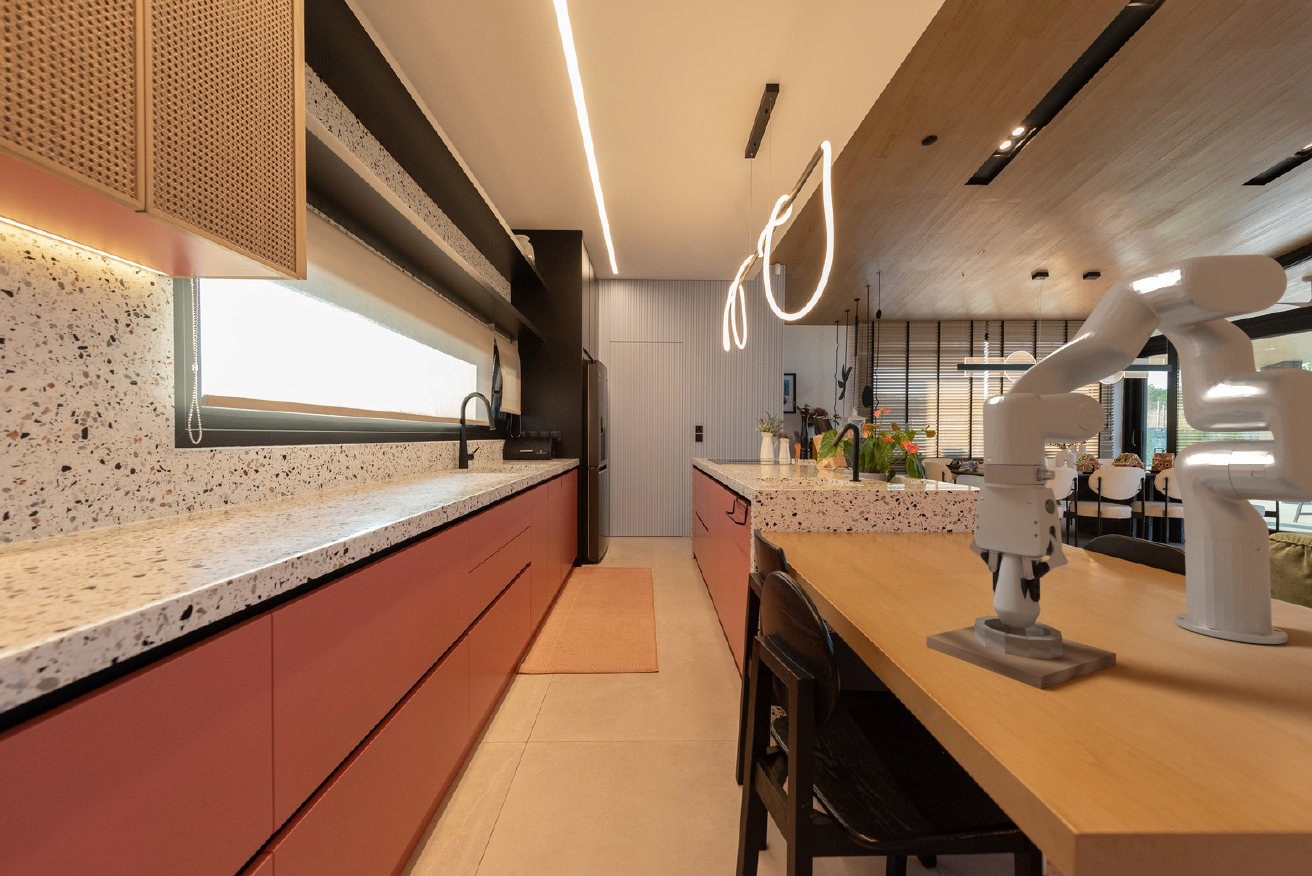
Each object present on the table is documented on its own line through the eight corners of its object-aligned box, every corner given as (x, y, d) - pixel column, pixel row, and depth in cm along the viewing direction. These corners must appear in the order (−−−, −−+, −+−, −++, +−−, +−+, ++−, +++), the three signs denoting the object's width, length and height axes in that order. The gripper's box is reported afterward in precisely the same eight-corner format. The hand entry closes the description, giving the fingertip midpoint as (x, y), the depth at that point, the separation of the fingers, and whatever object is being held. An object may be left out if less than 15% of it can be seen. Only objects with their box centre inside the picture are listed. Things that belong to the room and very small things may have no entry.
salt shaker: (1049, 631, 73) (1047, 538, 73) (1003, 628, 74) (1002, 536, 75) (1028, 618, 79) (1026, 532, 79) (986, 615, 80) (984, 530, 80)
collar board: (999, 629, 87) (998, 605, 88) (1116, 664, 73) (1115, 635, 73) (926, 646, 80) (926, 619, 80) (1041, 689, 65) (1040, 656, 65)
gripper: (1093, 479, 71) (1096, 614, 71) (975, 474, 86) (977, 586, 86) (1061, 480, 68) (1064, 622, 68) (945, 475, 83) (947, 591, 82)
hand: (1015, 601), depth 77 cm, fingers closed on salt shaker, 3 cm apart
